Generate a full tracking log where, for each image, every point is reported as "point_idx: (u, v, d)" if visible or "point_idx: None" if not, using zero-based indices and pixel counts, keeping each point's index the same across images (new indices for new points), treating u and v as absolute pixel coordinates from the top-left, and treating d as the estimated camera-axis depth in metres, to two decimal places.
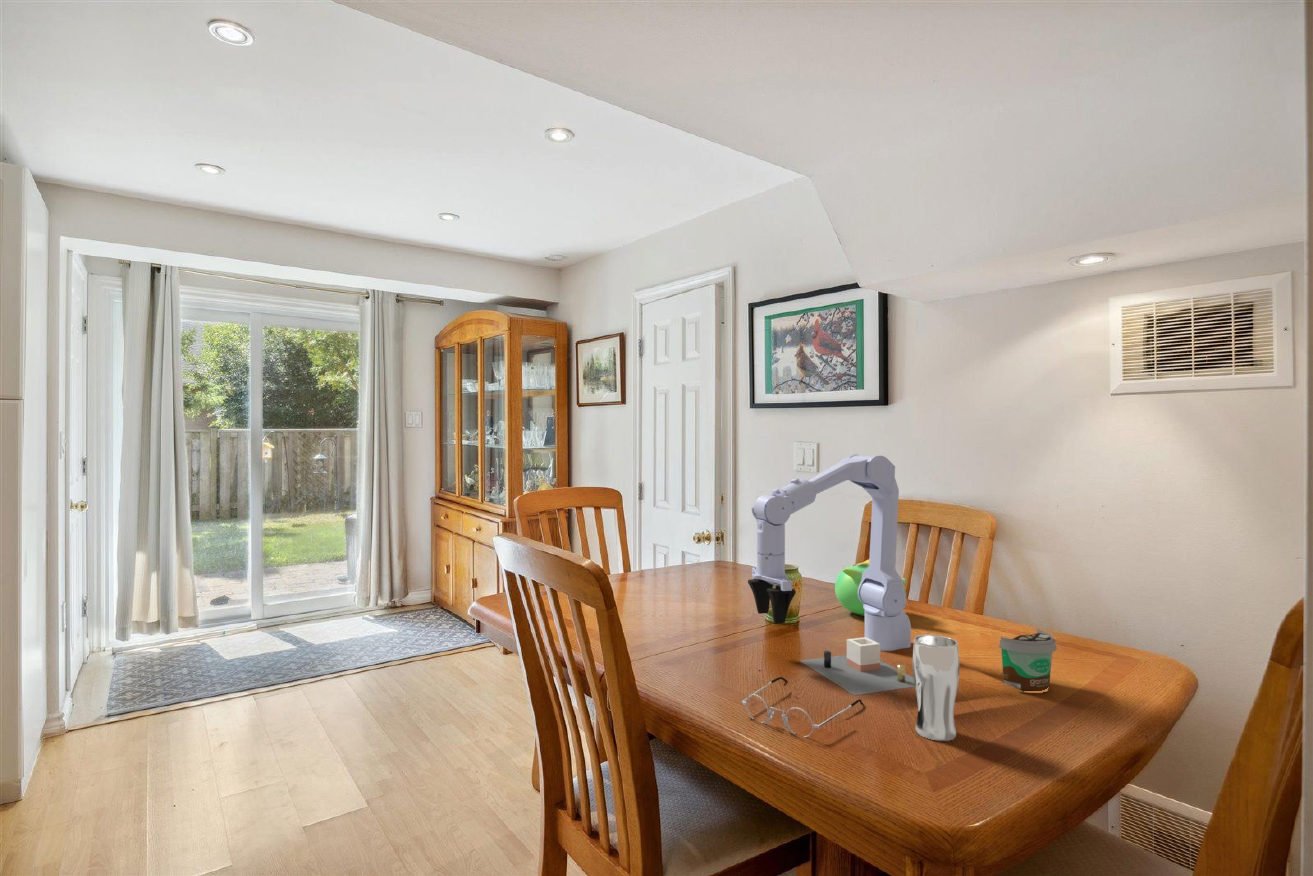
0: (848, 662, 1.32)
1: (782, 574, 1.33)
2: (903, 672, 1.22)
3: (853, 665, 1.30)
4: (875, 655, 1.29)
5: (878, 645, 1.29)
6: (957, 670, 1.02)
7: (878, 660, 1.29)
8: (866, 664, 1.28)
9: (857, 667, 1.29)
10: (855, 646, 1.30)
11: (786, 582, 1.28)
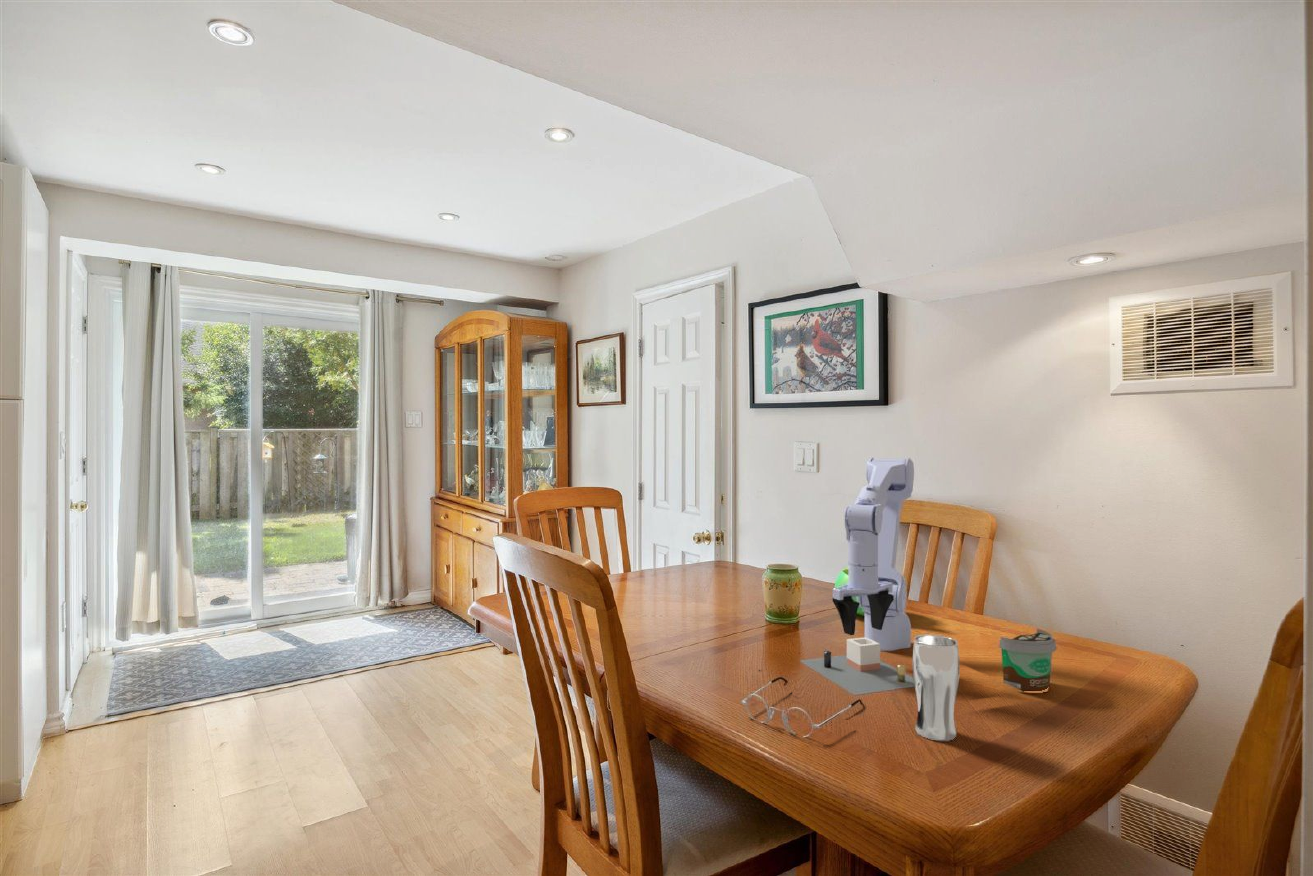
0: (848, 662, 1.32)
1: (859, 586, 1.29)
2: (903, 672, 1.22)
3: (853, 665, 1.30)
4: (875, 655, 1.29)
5: (878, 645, 1.29)
6: (957, 670, 1.02)
7: (878, 660, 1.29)
8: (866, 664, 1.28)
9: (857, 667, 1.29)
10: (855, 646, 1.30)
11: (835, 590, 1.28)
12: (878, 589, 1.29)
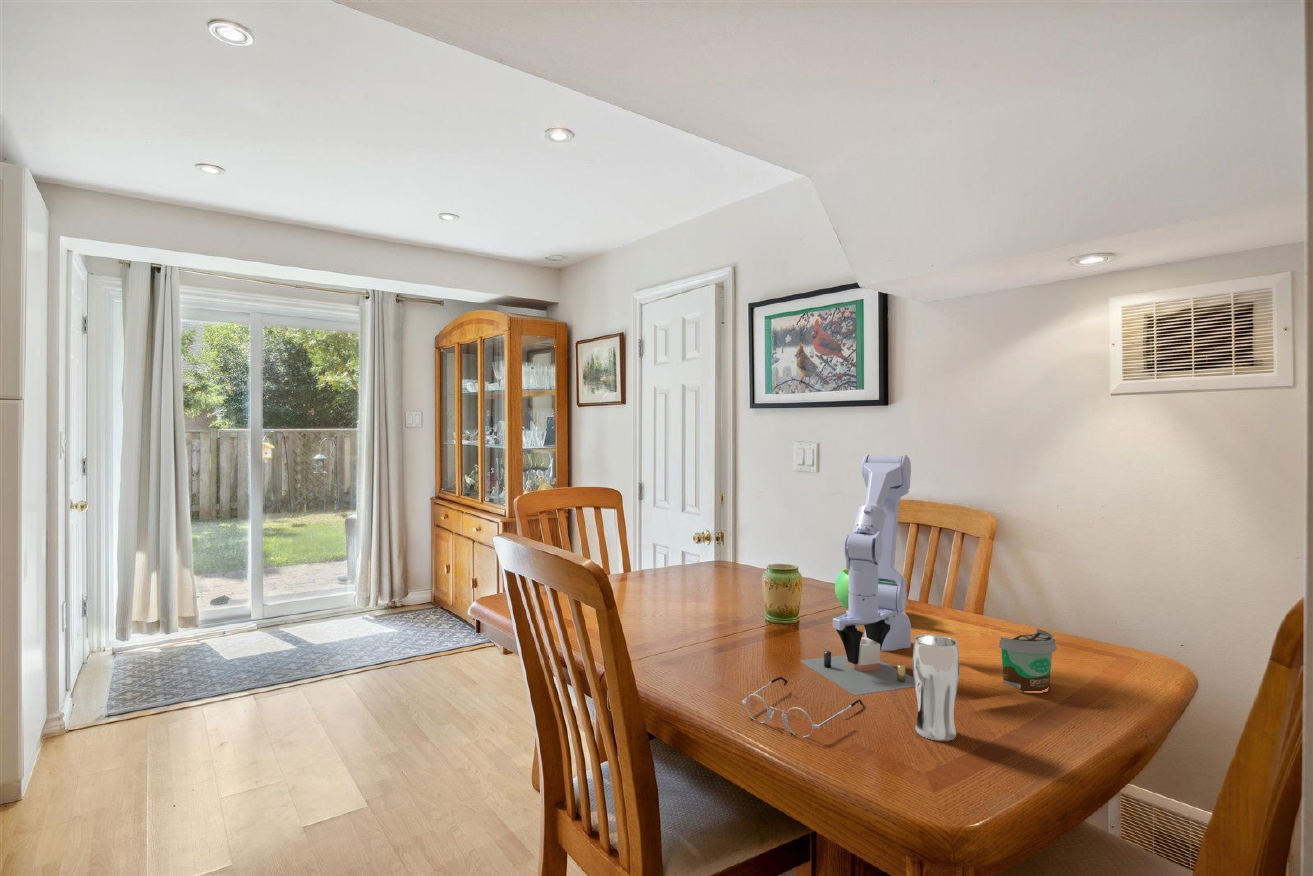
0: (848, 662, 1.32)
1: (859, 616, 1.29)
2: (903, 672, 1.22)
3: (853, 665, 1.30)
4: (875, 655, 1.29)
5: (878, 645, 1.29)
6: (957, 670, 1.02)
7: (878, 660, 1.29)
8: (866, 664, 1.28)
9: (857, 667, 1.29)
10: None
11: (835, 620, 1.28)
12: (878, 619, 1.29)
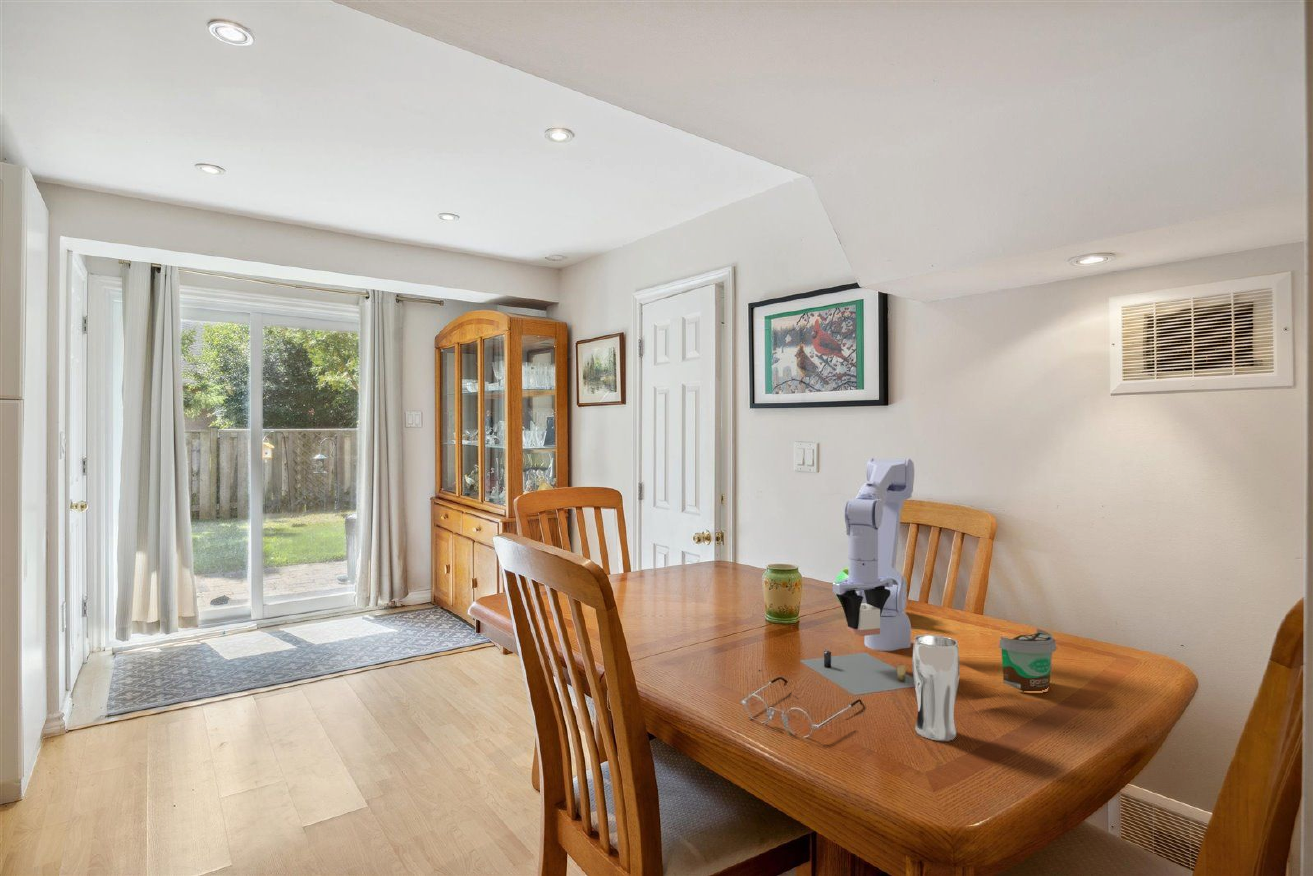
0: (848, 628, 1.32)
1: (859, 581, 1.29)
2: (903, 672, 1.22)
3: (853, 630, 1.30)
4: (875, 620, 1.29)
5: (878, 610, 1.29)
6: (957, 670, 1.02)
7: (878, 625, 1.29)
8: (867, 629, 1.28)
9: (857, 632, 1.29)
10: None
11: (835, 584, 1.28)
12: (878, 583, 1.29)
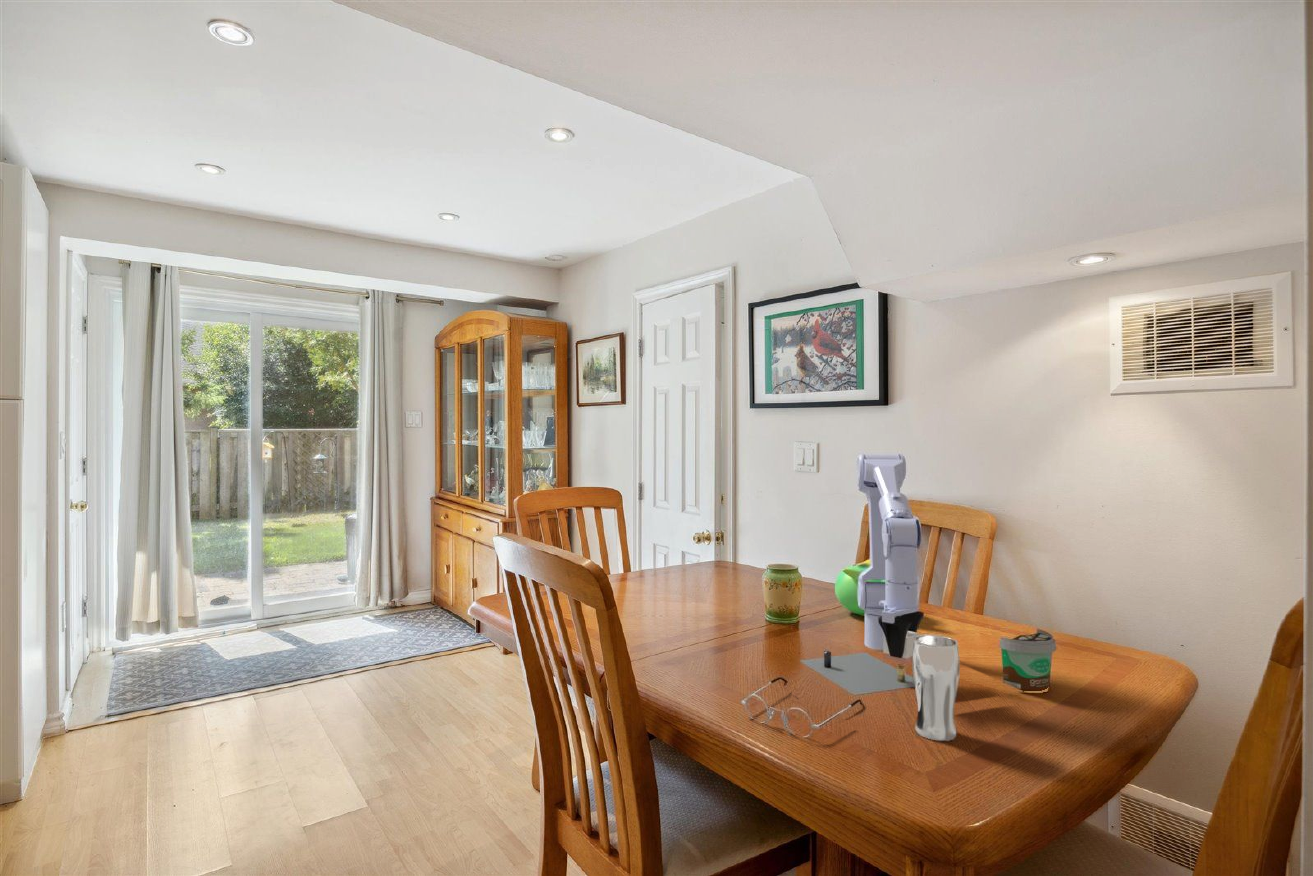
0: (886, 657, 1.23)
1: (904, 606, 1.20)
2: (903, 672, 1.22)
3: (894, 659, 1.21)
4: None
5: (917, 634, 1.23)
6: (957, 670, 1.02)
7: None
8: (910, 656, 1.21)
9: (901, 661, 1.20)
10: None
11: (886, 613, 1.18)
12: (918, 607, 1.22)
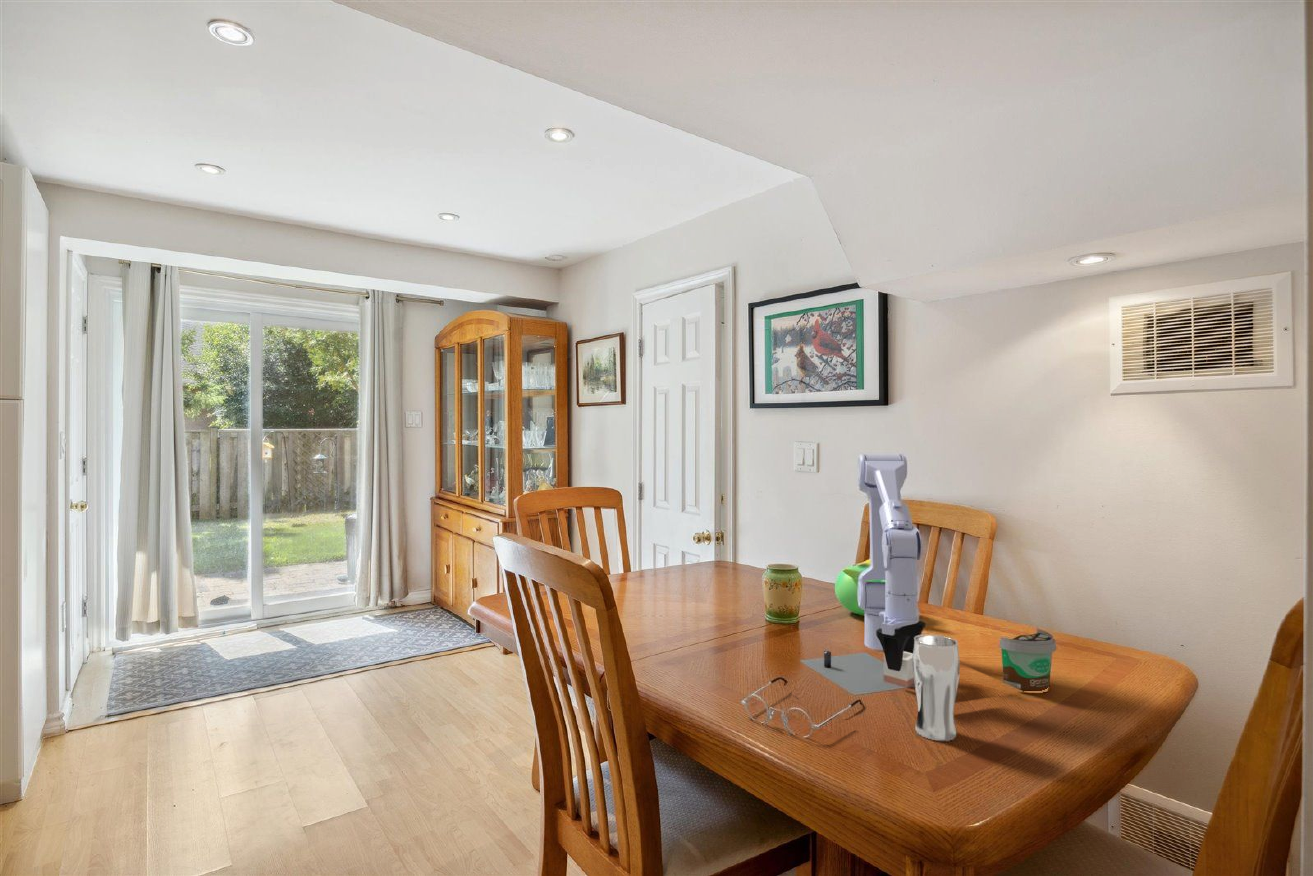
0: (886, 679, 1.23)
1: (904, 618, 1.20)
2: None
3: (895, 681, 1.21)
4: None
5: None
6: (957, 670, 1.02)
7: None
8: (910, 678, 1.21)
9: (902, 683, 1.20)
10: None
11: (886, 625, 1.18)
12: (918, 618, 1.22)
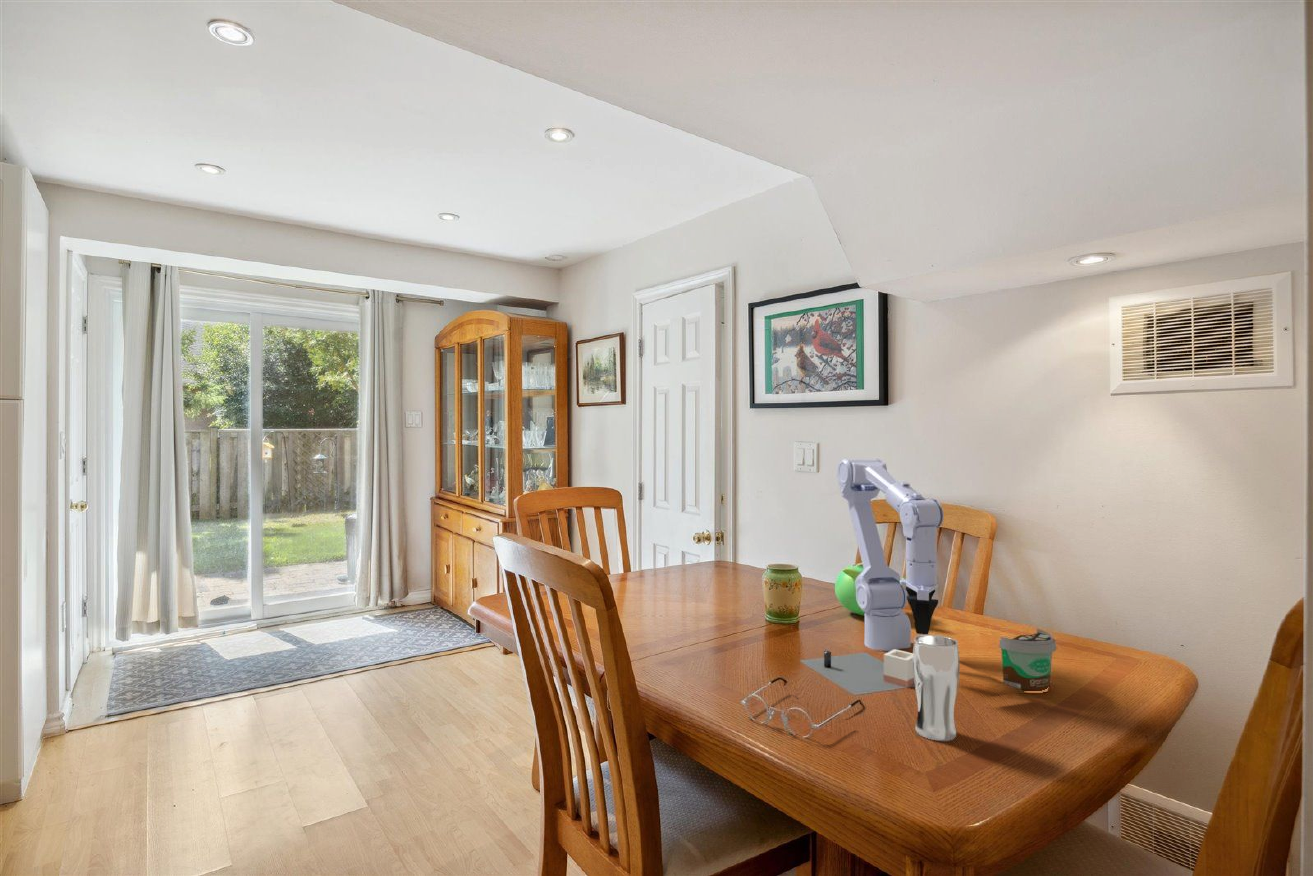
0: (886, 679, 1.23)
1: (929, 583, 1.26)
2: None
3: (895, 681, 1.21)
4: None
5: None
6: (958, 670, 1.02)
7: None
8: (910, 678, 1.21)
9: (902, 683, 1.20)
10: (898, 661, 1.21)
11: (921, 591, 1.22)
12: None
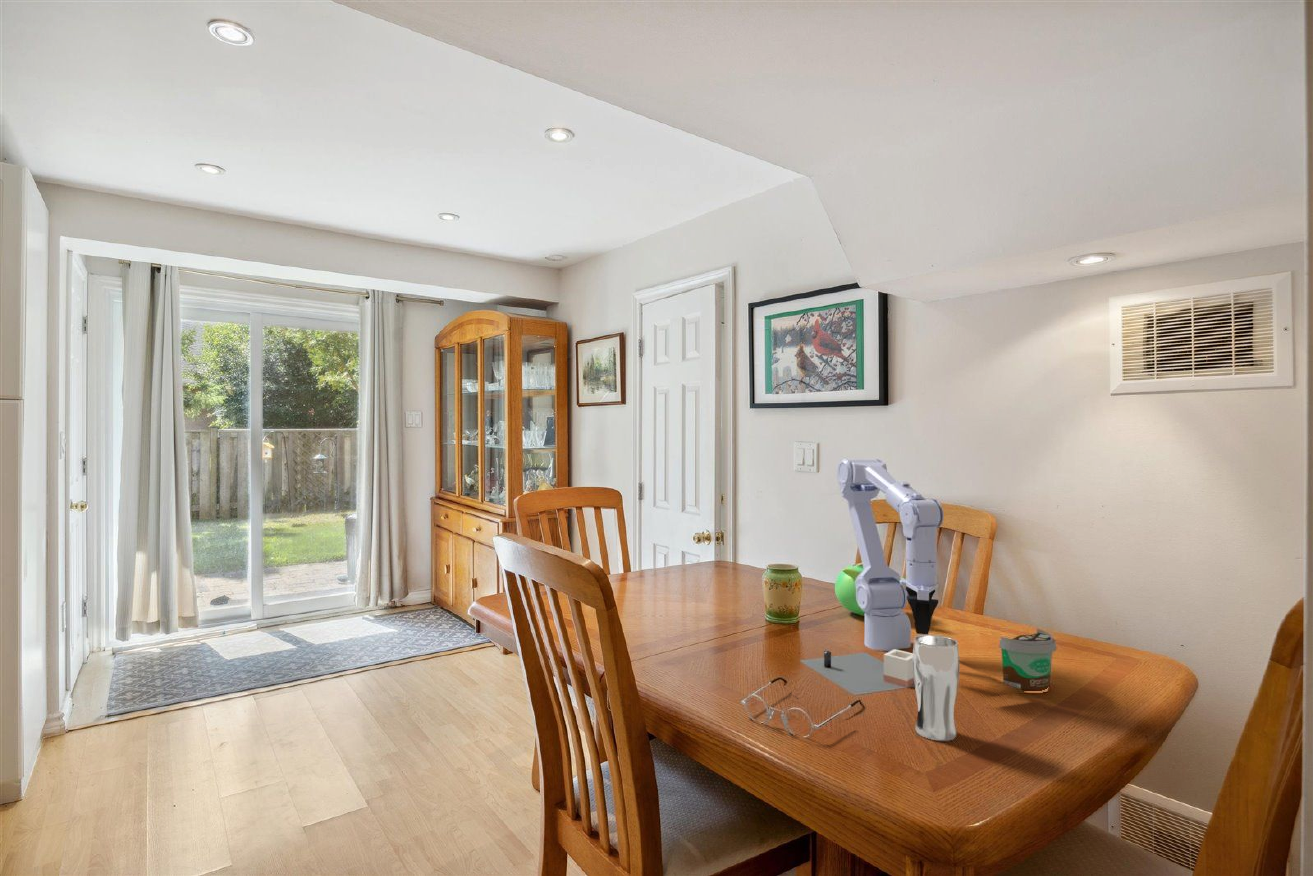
0: (886, 679, 1.23)
1: (929, 583, 1.26)
2: None
3: (895, 681, 1.21)
4: None
5: None
6: (957, 670, 1.02)
7: None
8: (910, 678, 1.21)
9: (902, 683, 1.20)
10: (898, 661, 1.21)
11: (922, 591, 1.22)
12: None
